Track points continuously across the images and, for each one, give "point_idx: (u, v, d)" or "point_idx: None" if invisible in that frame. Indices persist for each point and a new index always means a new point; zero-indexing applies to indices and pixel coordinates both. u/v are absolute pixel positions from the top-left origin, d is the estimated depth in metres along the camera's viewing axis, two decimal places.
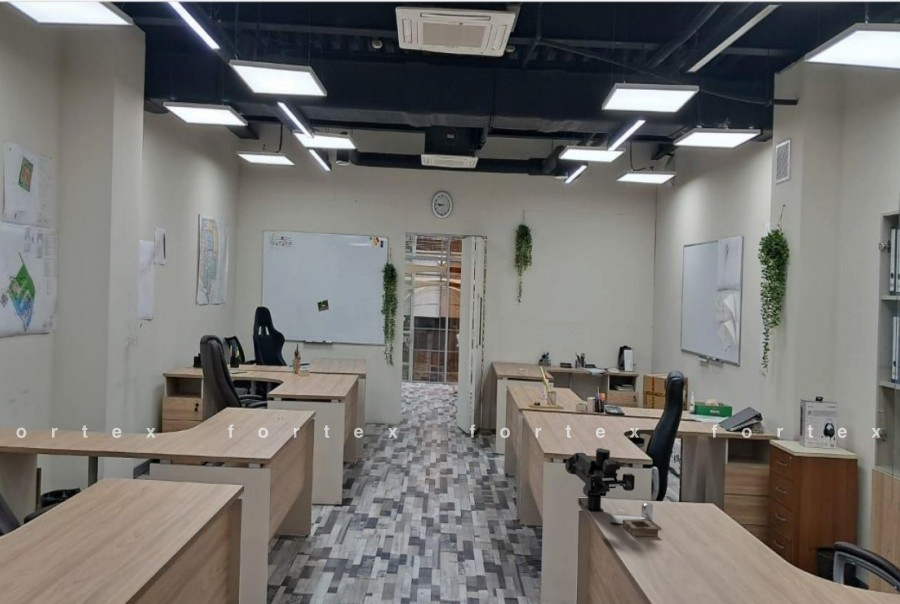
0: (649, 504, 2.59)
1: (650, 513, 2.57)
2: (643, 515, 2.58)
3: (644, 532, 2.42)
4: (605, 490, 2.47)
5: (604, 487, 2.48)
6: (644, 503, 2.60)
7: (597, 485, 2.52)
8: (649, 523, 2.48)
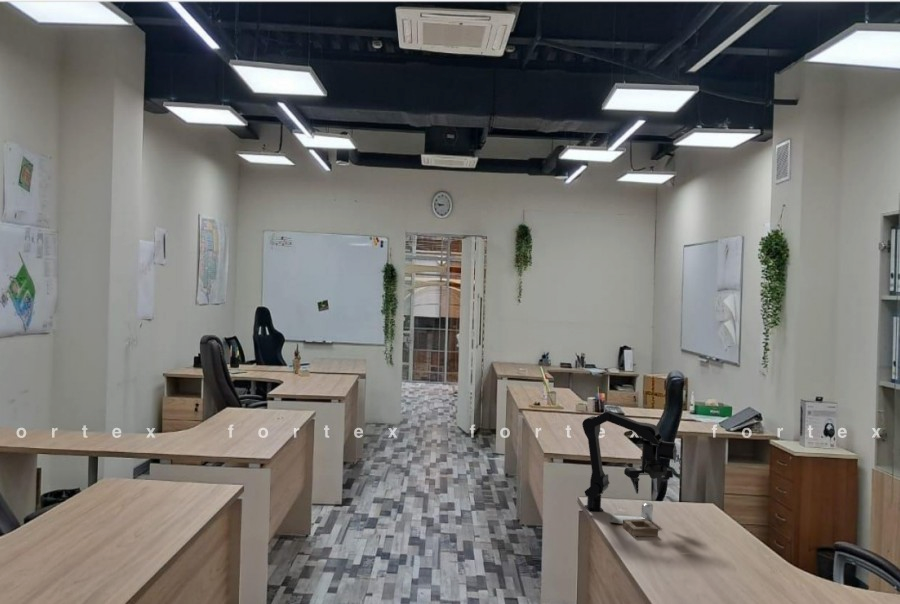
0: (649, 504, 2.59)
1: (650, 513, 2.57)
2: (643, 515, 2.58)
3: (644, 532, 2.42)
4: None
5: (635, 488, 2.58)
6: (644, 503, 2.60)
7: None
8: (649, 523, 2.48)
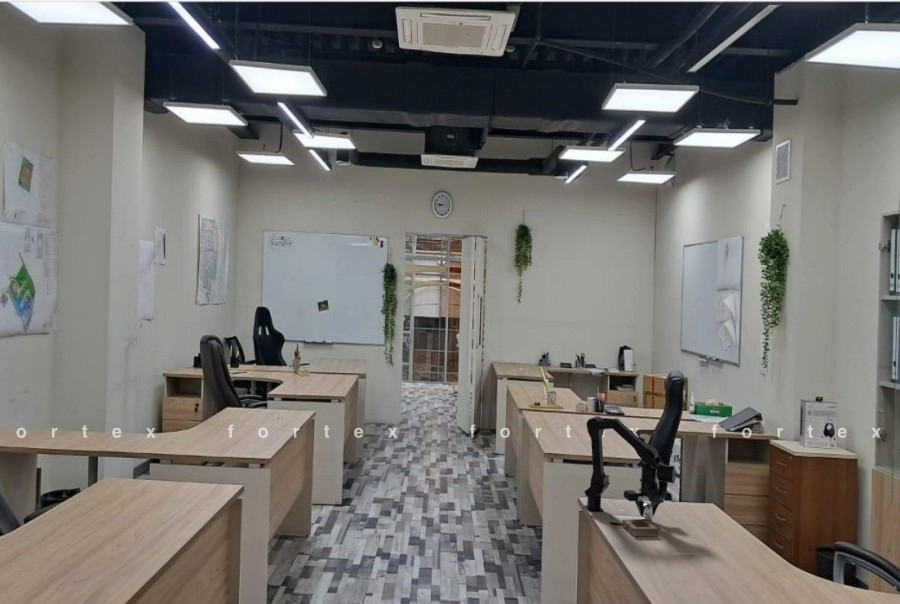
0: (649, 504, 2.59)
1: (650, 513, 2.57)
2: (643, 515, 2.58)
3: (644, 532, 2.42)
4: (639, 511, 2.59)
5: (639, 510, 2.58)
6: (644, 503, 2.60)
7: None
8: (649, 523, 2.48)
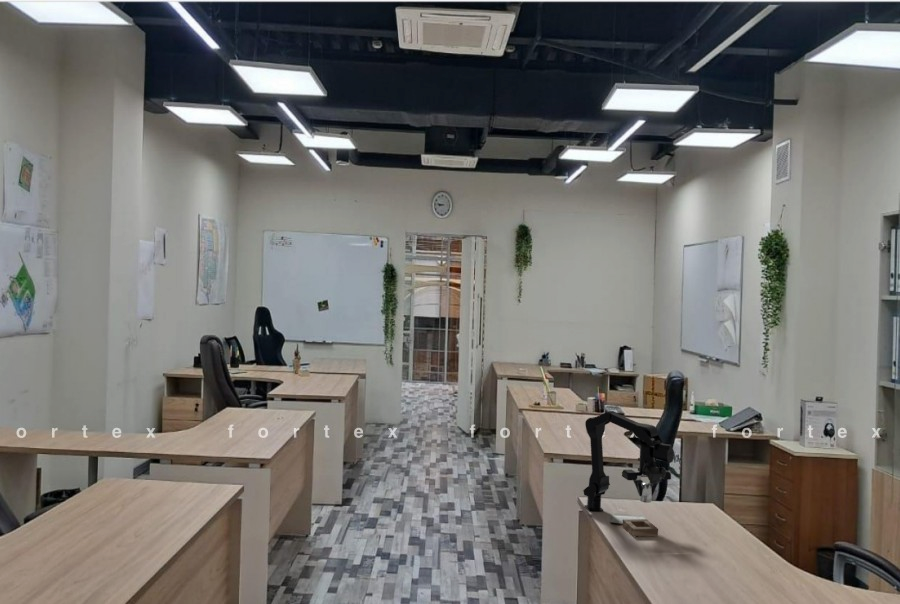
0: (648, 483, 2.53)
1: (649, 492, 2.51)
2: (642, 495, 2.52)
3: (644, 532, 2.42)
4: (637, 490, 2.54)
5: (638, 490, 2.53)
6: (643, 482, 2.54)
7: None
8: (649, 523, 2.48)
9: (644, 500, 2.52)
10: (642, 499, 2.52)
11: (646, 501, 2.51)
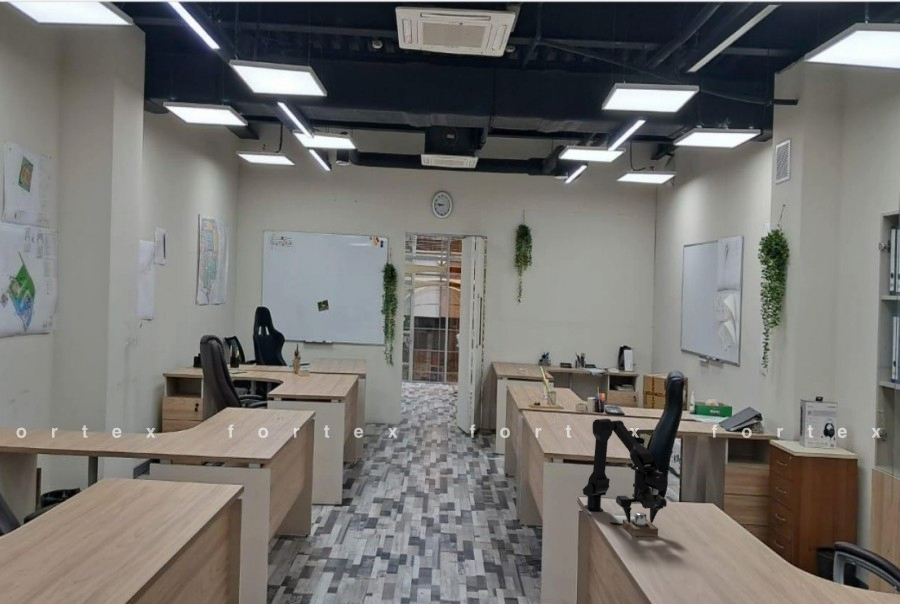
0: (642, 514, 2.47)
1: (643, 523, 2.45)
2: (636, 525, 2.46)
3: (644, 532, 2.42)
4: (626, 517, 2.47)
5: (627, 517, 2.46)
6: (637, 513, 2.48)
7: None
8: (649, 523, 2.48)
9: None
10: None
11: None
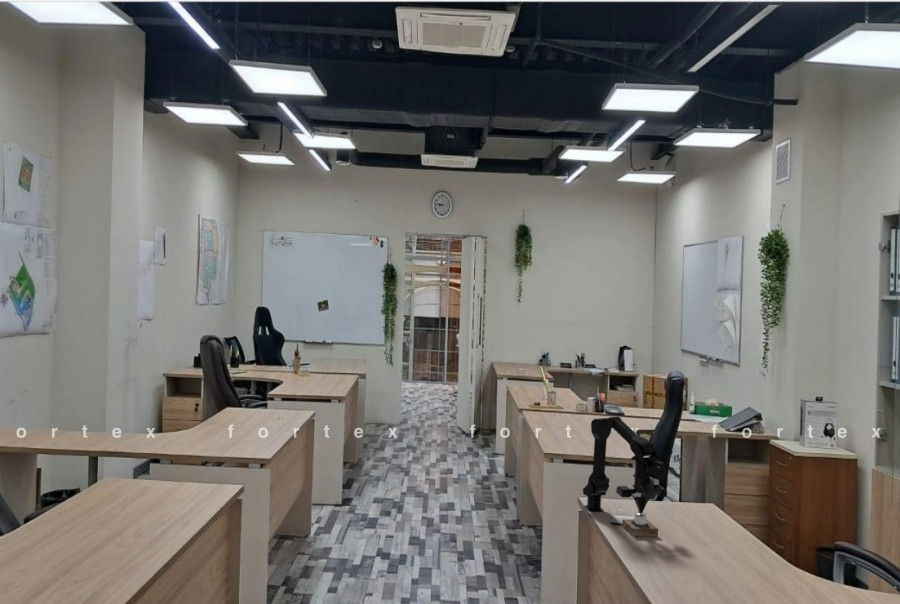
0: (642, 514, 2.47)
1: (643, 523, 2.45)
2: (636, 525, 2.46)
3: (644, 532, 2.42)
4: (637, 507, 2.48)
5: (638, 507, 2.47)
6: (637, 513, 2.48)
7: None
8: (649, 523, 2.48)
9: None
10: None
11: None
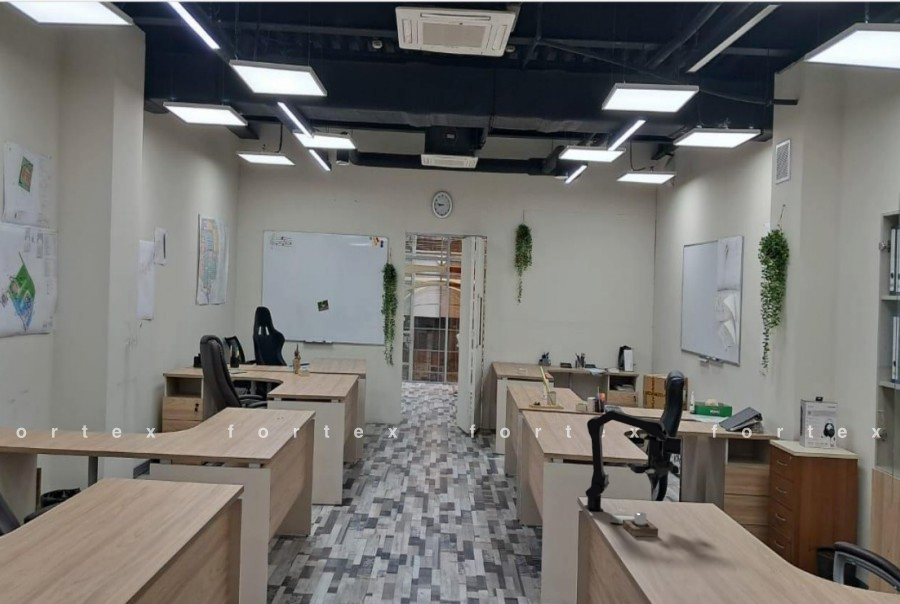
0: (642, 514, 2.47)
1: (643, 523, 2.45)
2: (636, 525, 2.46)
3: (644, 532, 2.42)
4: (651, 483, 2.61)
5: (651, 483, 2.60)
6: (637, 513, 2.48)
7: None
8: (649, 523, 2.48)
9: None
10: None
11: None
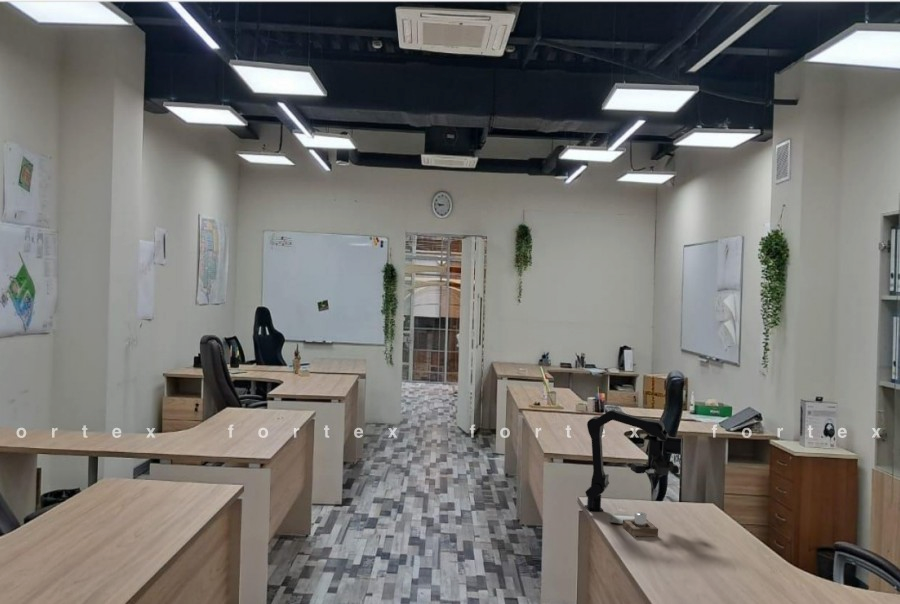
0: (642, 514, 2.47)
1: (643, 523, 2.45)
2: (636, 525, 2.46)
3: (644, 532, 2.42)
4: (651, 483, 2.61)
5: (651, 483, 2.60)
6: (637, 513, 2.48)
7: None
8: (649, 523, 2.48)
9: None
10: None
11: None
